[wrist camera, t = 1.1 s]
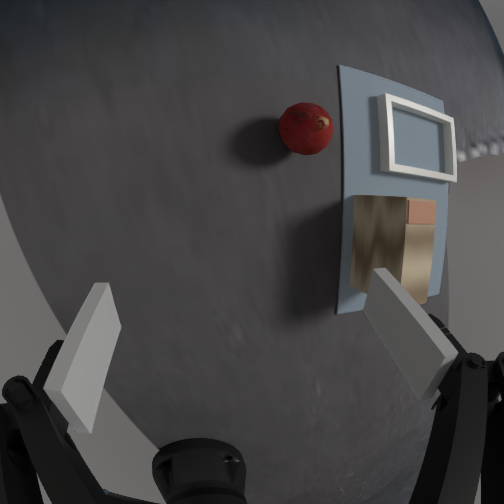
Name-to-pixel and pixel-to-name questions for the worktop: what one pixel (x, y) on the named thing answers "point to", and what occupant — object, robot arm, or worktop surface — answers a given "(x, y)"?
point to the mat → (386, 183)
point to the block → (393, 241)
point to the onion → (305, 128)
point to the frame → (387, 138)
